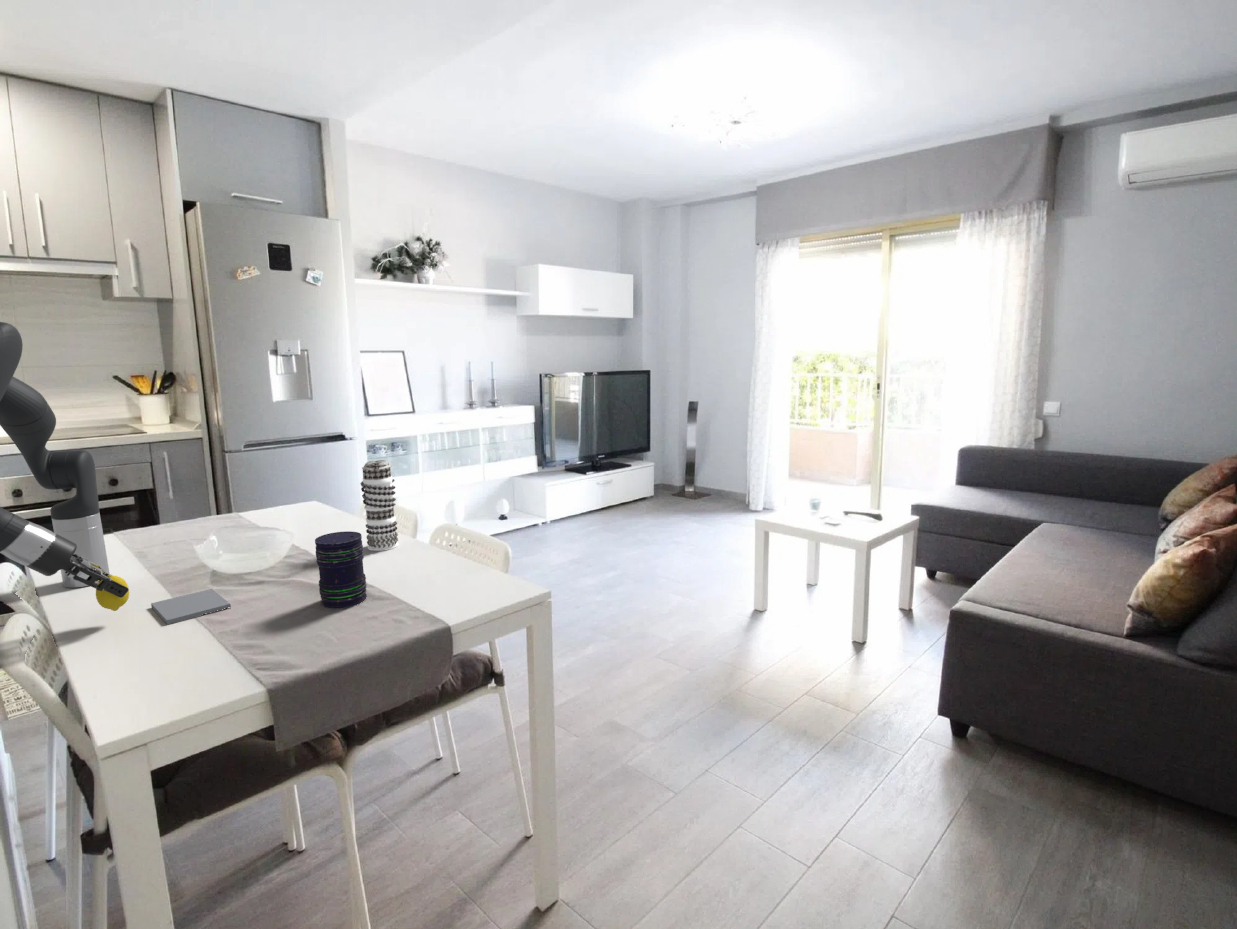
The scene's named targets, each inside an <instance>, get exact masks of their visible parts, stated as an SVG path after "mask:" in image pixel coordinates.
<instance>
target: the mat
mask: <svg viewBox="0 0 1237 929" xmlns="http://www.w3.org/2000/svg"><path fill="white" fill-rule="evenodd" d="M150 606H151V608H152V609H153V611H154V612H155V613H156V614H157V615H158V616H159V617H160V619H161V620H163V622H164V623H165V624H166V625H167V626H169V625H173V624H176V623H179V622H183V621H187V620H190V619H195V618H198V617H197V616H199V615H202V614H205V613H210V612H214V613H216V612H215V611H217V610H221V611H223V610H222V609H224V608H228V607H231V608H232V606H231V602H229V601H228V600H226V599H225V598H224V597H223V596H222V595H220V594H219V593H218V592H216V591H215V590H214V589H213V588H210V589H209V588H208V589H205V590H201V591H196V592H193V593H188V594H185V595H184V594H183V595H179V596H175V597H172V598H167V599H164V600H163V599H162V600H159V601H156V602H151V603H150ZM210 614H211V613H210ZM199 617H200V616H199Z"/></svg>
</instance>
